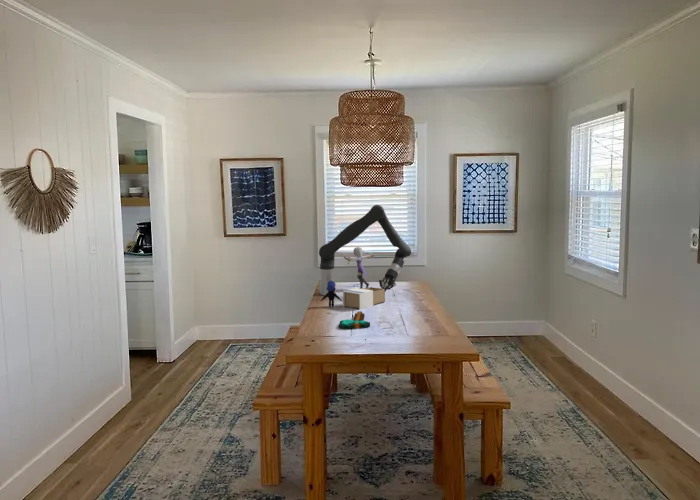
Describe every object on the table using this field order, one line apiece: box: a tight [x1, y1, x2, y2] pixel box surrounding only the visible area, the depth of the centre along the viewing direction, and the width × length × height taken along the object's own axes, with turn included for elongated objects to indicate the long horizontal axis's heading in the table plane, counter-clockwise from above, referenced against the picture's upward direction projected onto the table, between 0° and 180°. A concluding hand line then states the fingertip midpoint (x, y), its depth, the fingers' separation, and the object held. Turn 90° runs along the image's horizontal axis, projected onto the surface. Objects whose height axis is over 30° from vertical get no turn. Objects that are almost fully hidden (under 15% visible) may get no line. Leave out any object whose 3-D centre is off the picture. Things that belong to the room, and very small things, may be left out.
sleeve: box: [342, 287, 374, 310], centre depth 328 cm, size 12×14×10 cm
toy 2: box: [338, 311, 371, 330], centre depth 290 cm, size 16×3×30 cm
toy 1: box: [320, 280, 343, 307], centre depth 330 cm, size 13×6×15 cm, turn 84°
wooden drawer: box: [344, 286, 386, 309], centre depth 334 cm, size 24×11×8 cm, turn 139°
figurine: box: [343, 246, 375, 289], centre depth 381 cm, size 17×21×30 cm
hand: (381, 293), depth 346 cm, fingers closed
